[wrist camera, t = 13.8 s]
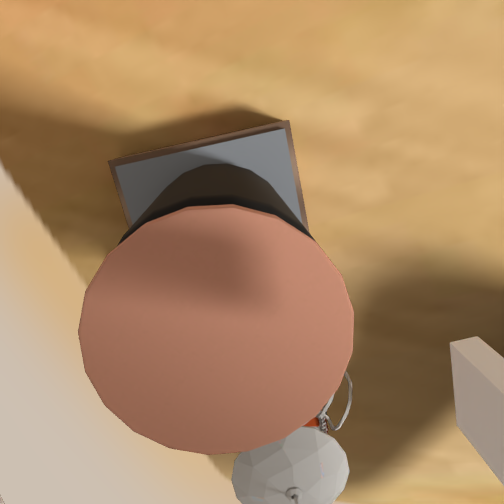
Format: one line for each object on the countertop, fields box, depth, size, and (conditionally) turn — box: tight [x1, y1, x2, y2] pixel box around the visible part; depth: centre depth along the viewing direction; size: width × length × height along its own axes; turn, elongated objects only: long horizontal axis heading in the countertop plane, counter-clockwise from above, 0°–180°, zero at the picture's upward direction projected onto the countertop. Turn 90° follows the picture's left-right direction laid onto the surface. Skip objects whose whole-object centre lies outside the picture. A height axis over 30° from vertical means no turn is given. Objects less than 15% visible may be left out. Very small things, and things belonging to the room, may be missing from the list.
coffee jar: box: [78, 163, 354, 455], centre depth 25 cm, size 11×11×18 cm
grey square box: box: [108, 120, 309, 232], centre depth 35 cm, size 14×14×4 cm
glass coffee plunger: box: [232, 371, 352, 504], centre depth 30 cm, size 10×12×25 cm
